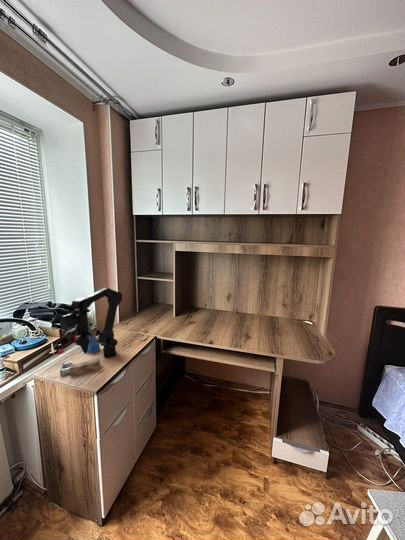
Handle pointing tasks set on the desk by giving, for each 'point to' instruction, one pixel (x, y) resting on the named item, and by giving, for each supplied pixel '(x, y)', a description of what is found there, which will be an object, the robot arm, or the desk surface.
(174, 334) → the desk surface
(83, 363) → the rail
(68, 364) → the bracket
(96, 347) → the perfume bottle
